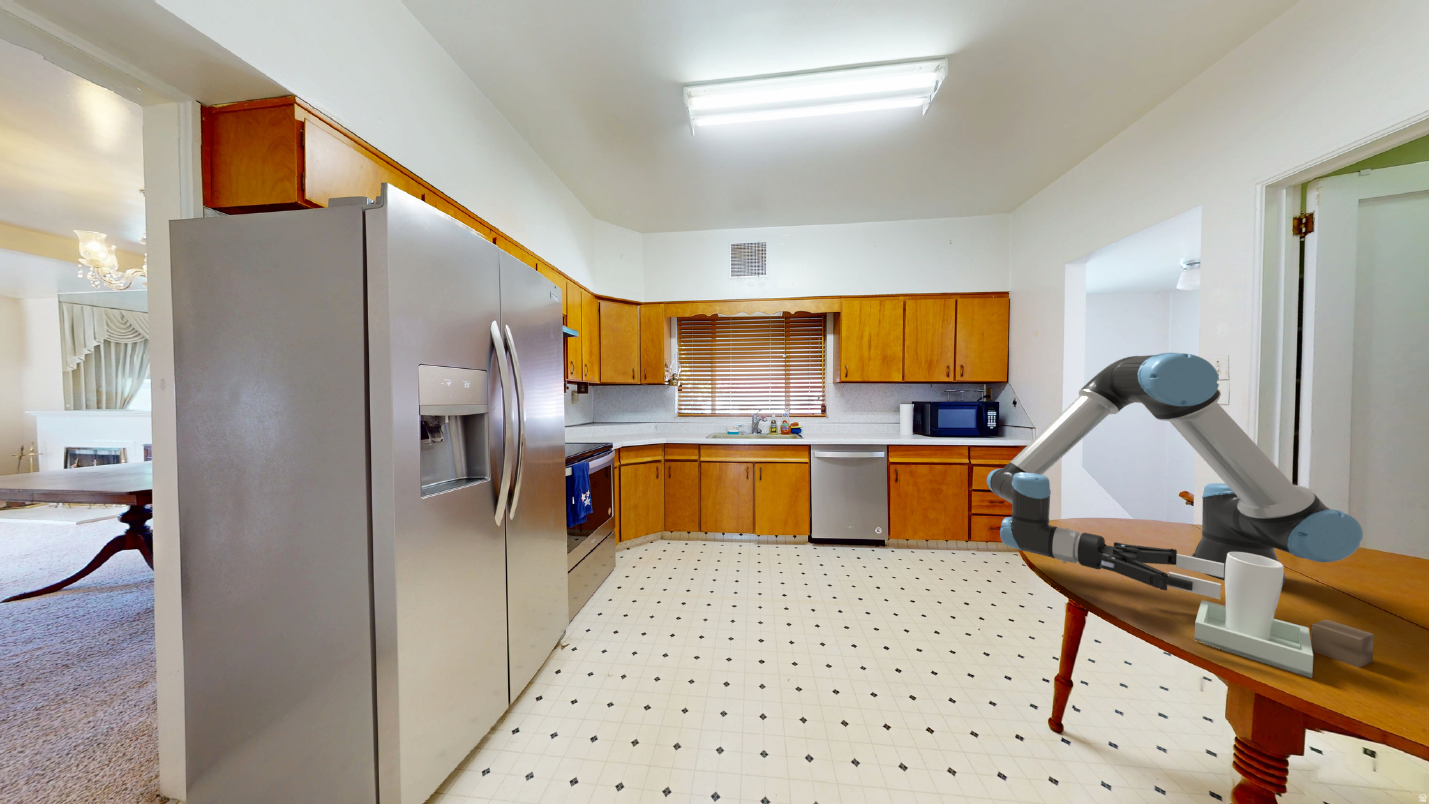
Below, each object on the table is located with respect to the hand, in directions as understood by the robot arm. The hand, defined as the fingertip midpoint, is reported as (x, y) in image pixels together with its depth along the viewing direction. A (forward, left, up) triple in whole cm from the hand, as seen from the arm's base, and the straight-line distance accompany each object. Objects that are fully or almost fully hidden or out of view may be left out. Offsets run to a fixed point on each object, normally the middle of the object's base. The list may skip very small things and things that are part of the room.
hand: (1222, 580), depth 82 cm
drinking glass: (-4, +1, -10) cm, 11 cm away
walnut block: (-15, +5, -11) cm, 19 cm away
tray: (-3, +2, -11) cm, 12 cm away
